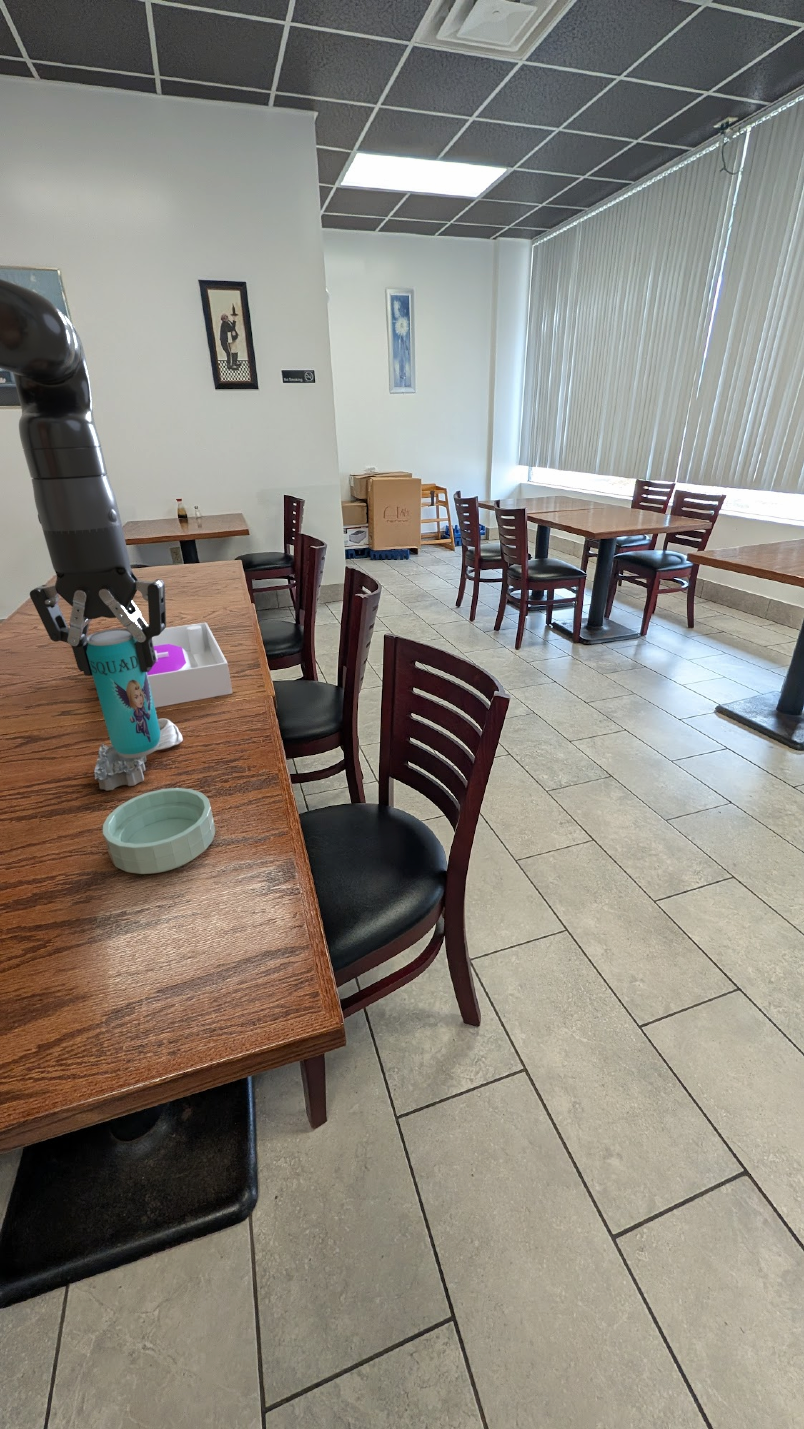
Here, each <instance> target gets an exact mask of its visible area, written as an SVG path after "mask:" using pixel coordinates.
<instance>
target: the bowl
mask: <svg viewBox="0 0 804 1429" xmlns="http://www.w3.org/2000/svg"><path fill="white" fill-rule="evenodd" d="M215 835H216V827H215V821H214V817H213V812H212V807H211V803H210V799H209V798H208V797H207V796H206V795H205V794H204V793H203V792H201V791H198V790H195V789H192V788H185V787H171V788H169V787H168V788H162V789H157V790H152V791H148V792H145V793H142V794H140V795H137V796H134V797H132V798H130V799H129V800H127V801H124V802H123V803H121V804H120V805H118V806H117V807H116V808H114V810H113V811H111V812H110V813H109V814H108V815H107V817H106V818H105V820H104V822H103V824H102V836H103V840H104V843H105V846H106V850H107V852H108V856H109V859H110V862H112V864H113V865H114V866H115V867H116V868H117V869H120V870H121V871H124V872H125V873H132V874H139V875H149V874H150V875H151V874H159V873H164V872H169V871H172V870H175V869H178V868H180V867H182V866H184V865H186V864H188V863H189V862H191V861H193V860H194V859H196V858H197V857H198V856H200V855H201V854H203V853H204V852H205V851H206V850H207V848H208V847H209V846H210V845H211V844H212V843H213V840H214V838H215Z"/></svg>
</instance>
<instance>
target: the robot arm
mask: <svg viewBox="0 0 804 1429" xmlns="http://www.w3.org/2000/svg"><path fill="white" fill-rule="evenodd" d="M0 369H1V370H4V371H7V372H10V373H12V376H13V379H14V384H15V387H16V392H17V396H18V400H19V404H20V408H21V416H20V418H19V420H18V432H19V433H18V434H19V439H20V443H21V446H22V451H23V455H24V459H25V461H26V466H27V469H28V472H29V476H30V478H31V483H32V489H33V490H32V491H33V498H34V503H35V507H36V511H37V519H38V522H39V525H41V529H42V533H43V536H44V539H45V544H46V547H47V550H48V554H49V557H50V561H51V565H52V568H53V570H54V572H55V575H56V579H55V583H54V584H51V585H47V584H42V585H39V586H37V587H35V588H34V589H32V590H30V592H29V598H30V600H31V601H32V603H33V605H34V606H33V607H34V608H35V610H36V612H37V614H38V616H39V619H40V620H41V622H42V624H43V626H44V628H45V631H46V633H47V635H48V637H49V639H50V640H51V641H53V642H55V643H58V642H63V643H67V644H68V645H70V647H71V649H72V652H73V656H74V659H75V663H76V666H77V668H78V670H79V671H80V672H83V675H84V676H85V677H91V676H92V677H93V675H92V671H91V667H90V664H89V660H88V656H87V653H86V651H87V646H88V642H87V641H86V638H87V637H88V634H89V631H90V630H89V629H90V624H91V623H92V622H93V620H97V619H100V618H107V619H117V620H118V622H119V623H120V624H121V625H122V626H123V627H125V629H128V630H129V632H130V633H131V634H132V636H133V637H134V638H135V640H136V642H135V647H136V651H137V656H138V660H139V664H140V668H141V672H149V671H150V670H151V669H152V666H153V665H154V664H155V662H156V655H155V651H154V646H153V642H152V637H154V636H158V635H160V633H161V632H162V631H163V630H164V629H165V628H167V612H166V609H167V607H166V585H165V581H163V580H162V579H160V578H157V579H155V580H153V581H152V580H143V579H138V577H137V576H136V575H135V574H134V572H133V570H132V568H131V567H132V566H131V561H130V556H129V552H128V551H129V550H128V548H127V542H126V537H125V534H124V529H123V526H122V525H123V524H122V520H121V515H120V512H119V507H118V501H117V499H116V495H115V492H114V489H113V487H112V484H111V482H110V477H109V475H108V470H107V466H106V461H105V457H104V452H103V448H102V444H101V443H102V442H101V440H100V437H99V433H98V429H97V427H96V423H95V418H94V408H93V398H92V391H91V383H90V376H89V369H88V364H87V359H86V354H85V350H84V346H83V342H82V340H81V337H80V335H79V333H78V330H77V328H76V327H75V325H74V324H73V323H72V321H71V319H69V318H68V316H66V314H65V313H63V312H62V310H60V309H59V308H58V307H57V306H56V305H55V304H53V303H52V302H51V301H50V300H49V299H48V298H46V297H44V296H43V295H41V294H40V293H38V292H35V291H34V290H32V289H29V288H27V287H24V286H21V285H19V284H16V283H14V282H10V281H8V280H4V279H2V278H0ZM137 592H139V593H141V595H142V598H143V600H145V601H146V602H147V606H148V607H147V608H148V623H147V622H146V620H145V619H144V618H143V616H142V614H143V613H142V612H141V611H140V609H139V608H138V606H137V605H136V603H135V602H134V600H133V599H134V598H135V595H136V593H137ZM60 597H61V599H63V600H64V601H65V602H66V603H68V605H70V606H71V613H70V617H69V622H68V623H67V621H66V619H65V617H64V614H63V612H62V609H61V608H60V606H59V603H60Z"/></svg>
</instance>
